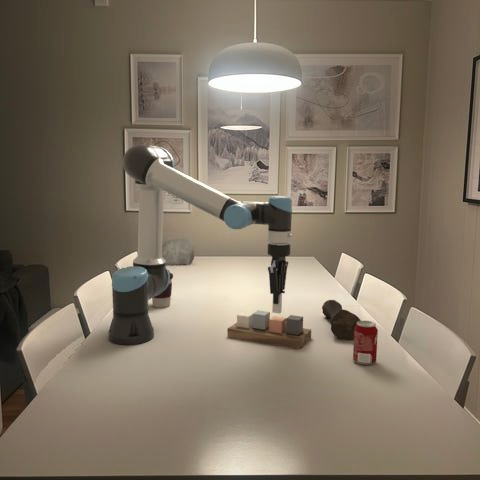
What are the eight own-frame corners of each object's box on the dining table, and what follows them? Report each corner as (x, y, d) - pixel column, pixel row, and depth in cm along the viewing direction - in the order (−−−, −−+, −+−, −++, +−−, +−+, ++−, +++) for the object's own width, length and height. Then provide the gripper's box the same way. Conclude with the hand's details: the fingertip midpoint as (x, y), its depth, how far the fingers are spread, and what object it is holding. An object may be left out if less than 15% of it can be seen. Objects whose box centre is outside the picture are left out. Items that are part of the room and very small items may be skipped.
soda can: (372, 368, 142) (374, 328, 140) (349, 363, 145) (351, 324, 144) (379, 360, 147) (380, 322, 146) (357, 356, 151) (358, 318, 149)
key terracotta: (281, 336, 163) (281, 321, 162) (269, 334, 165) (269, 319, 164) (285, 332, 167) (286, 317, 166) (273, 330, 169) (274, 316, 168)
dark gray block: (298, 335, 160) (298, 320, 159) (285, 333, 162) (286, 318, 161) (302, 331, 164) (303, 316, 163) (290, 329, 166) (290, 314, 165)
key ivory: (248, 330, 168) (248, 316, 167) (237, 328, 170) (237, 315, 169) (253, 327, 172) (253, 313, 171) (242, 325, 174) (242, 311, 173)
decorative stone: (159, 265, 290) (163, 262, 300) (192, 266, 289) (195, 262, 299) (158, 238, 288) (162, 235, 298) (192, 238, 287) (194, 235, 297)
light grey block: (264, 329, 165) (264, 315, 164) (252, 327, 167) (253, 313, 166) (269, 326, 169) (269, 312, 168) (257, 324, 171) (258, 310, 170)
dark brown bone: (354, 348, 164) (334, 330, 192) (369, 320, 164) (347, 307, 192) (326, 333, 163) (310, 317, 191) (341, 305, 163) (323, 294, 191)
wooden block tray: (299, 349, 156) (300, 340, 156) (227, 336, 167) (227, 328, 167) (311, 337, 167) (311, 329, 167) (242, 326, 178) (242, 318, 178)
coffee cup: (168, 309, 199) (168, 273, 197) (145, 308, 201) (145, 272, 199) (176, 303, 209) (176, 268, 207) (154, 301, 211) (154, 267, 209)
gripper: (282, 246, 154) (280, 319, 157) (296, 241, 166) (293, 309, 169) (260, 244, 157) (259, 315, 161) (275, 239, 169) (273, 306, 172)
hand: (276, 312), depth 165 cm, fingers closed
